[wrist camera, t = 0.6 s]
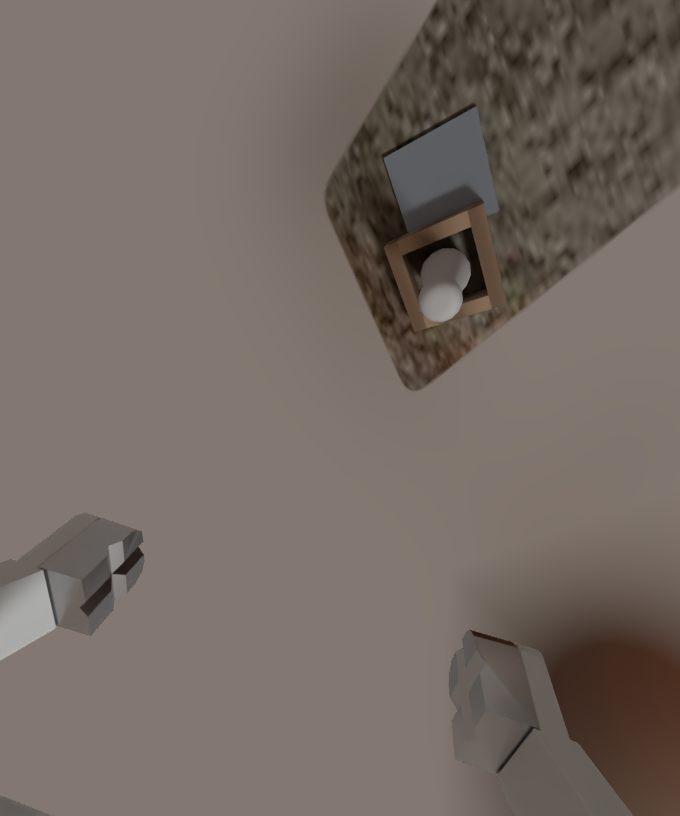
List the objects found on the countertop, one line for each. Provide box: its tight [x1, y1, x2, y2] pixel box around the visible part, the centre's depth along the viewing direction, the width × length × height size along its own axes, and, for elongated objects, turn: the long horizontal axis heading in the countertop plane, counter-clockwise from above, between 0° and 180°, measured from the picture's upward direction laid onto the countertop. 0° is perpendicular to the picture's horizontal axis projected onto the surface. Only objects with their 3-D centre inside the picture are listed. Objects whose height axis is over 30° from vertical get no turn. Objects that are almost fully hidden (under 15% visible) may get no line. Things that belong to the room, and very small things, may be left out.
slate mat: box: [383, 106, 499, 233], centre depth 40 cm, size 10×10×1 cm
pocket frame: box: [384, 201, 507, 332], centre depth 44 cm, size 11×11×3 cm
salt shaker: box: [418, 248, 471, 322], centre depth 40 cm, size 6×6×13 cm
